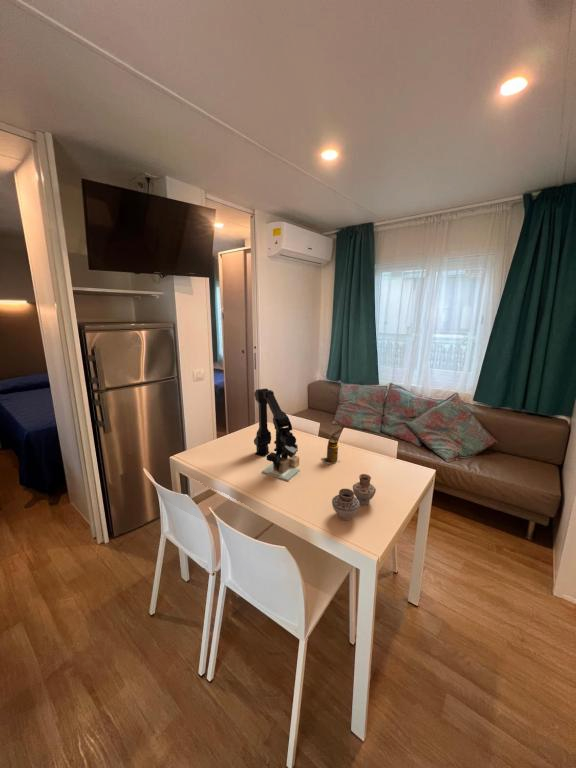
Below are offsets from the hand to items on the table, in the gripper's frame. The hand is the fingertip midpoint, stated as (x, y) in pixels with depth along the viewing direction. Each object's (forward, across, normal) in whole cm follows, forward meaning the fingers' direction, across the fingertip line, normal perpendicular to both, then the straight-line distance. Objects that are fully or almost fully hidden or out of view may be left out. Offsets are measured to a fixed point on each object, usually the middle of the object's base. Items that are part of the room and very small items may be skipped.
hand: (281, 467), depth 157 cm
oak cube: (+3, +9, -2) cm, 10 cm away
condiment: (+3, +26, -17) cm, 31 cm away
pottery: (+3, -9, -43) cm, 44 cm away
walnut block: (+1, 0, 0) cm, 1 cm away
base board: (+3, 0, 0) cm, 3 cm away
